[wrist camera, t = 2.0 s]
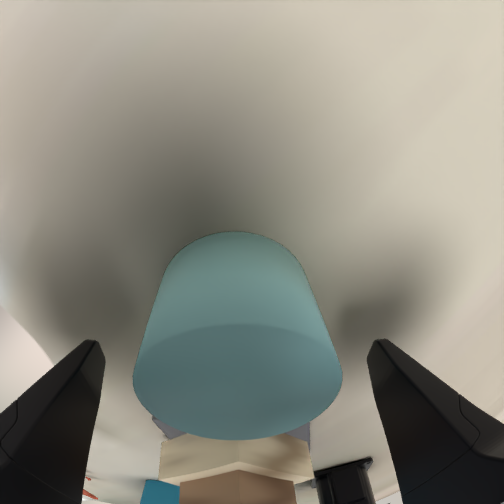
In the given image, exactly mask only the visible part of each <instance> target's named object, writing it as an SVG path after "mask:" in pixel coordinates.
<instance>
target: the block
mask: <svg viewBox="0 0 504 504" xmlns="http://www.w3.org/2000/svg"><path fill="white" fill-rule="evenodd" d="M179 495H180V486H177V485H173V484H170V483H167V482H163V481H156V480H146V483H145V487H144V490H143V494H142V498H141V502H140V504H179Z"/></svg>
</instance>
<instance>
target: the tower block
mask: <svg viewBox="0 0 504 504" xmlns="http://www.w3.org/2000/svg"><path fill="white" fill-rule="evenodd" d="M179 504H297V503H296V496H295V490H294V483H293V481H290V480H284V479H279V478H273V477H269V476H264V475H259V474H255V473H251V472H247V471H243V470H239V469H238V470H234V471H230V472H226V473H222V474H218V475H214V476H210V477H205V478H200V479H195V480H190V481H185V482H180V495H179Z"/></svg>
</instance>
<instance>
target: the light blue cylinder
mask: <svg viewBox="0 0 504 504" xmlns="http://www.w3.org/2000/svg"><path fill="white" fill-rule="evenodd" d="M341 384H342V370H341V366H340V363H339V360H338V357H337V355H336V352H335V349H334V347H333V344H332V341H331V339H330V336H329V333H328V331H327V328H326V326H325V323H324V320H323V318H322V315H321V313H320V310H319V308H318V305H317V302H316V300H315V297H314V295H313V292H312V290H311V287H310V285H309V282H308V280H307V278H306V275H305V273H304V270H303V268H302V267H301V265H300V263H299V262H298V260H297V259H296V258H295V256H294V255H293V254H292V253H291V252H290V251H289V250H287V249H286V248H285V247H283V246H282V245H281V244H279V243H277V242H275V241H273V240H272V239H269V238H267V237H264V236H261V235H257V234H253V233H247V232H222V233H216V234H212V235H208V236H205V237H203V238H200V239H198V240H196V241H194V242H192V243H190V244H189V245H187V246H186V247H185V248H183V249H182V250H181V251H180V252H179V253H178V254H177V255H176V256H175V257H174V258H173V259H172V260H171V262H170V263H169V265H168V267H167V269H166V270H165V273H164V276H163V278H162V281H161V284H160V287H159V290H158V293H157V296H156V299H155V302H154V305H153V308H152V311H151V314H150V318H149V321H148V324H147V327H146V330H145V334H144V337H143V340H142V344H141V347H140V351H139V354H138V358H137V361H136V365H135V368H134V373H133V387H134V391H135V393H136V395H137V397H138V399H139V401H140V402H141V404H142V405H143V406H144V407H145V408H146V409H147V410H148V411H149V412H150V413H151V414H152V415H153V416H155V417H156V418H157V419H159V420H160V421H162V422H163V423H165V424H167V425H169V426H171V427H173V428H175V429H178V430H180V431H183V432H186V433H189V434H192V435H196V436H200V437H204V438H210V439H218V440H252V439H260V438H266V437H271V436H275V435H279V434H282V433H285V432H288V431H291V430H293V429H296V428H298V427H300V426H302V425H304V424H306V423H308V422H309V421H311V420H313V419H314V418H316V417H317V416H319V415H320V414H321V413H322V412H323V411H325V410H326V409H327V408H328V407H329V406H330V404H331V403H332V402H333V401H334V399H335V398H336V396H337V395H338V392H339V390H340V388H341Z"/></svg>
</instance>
